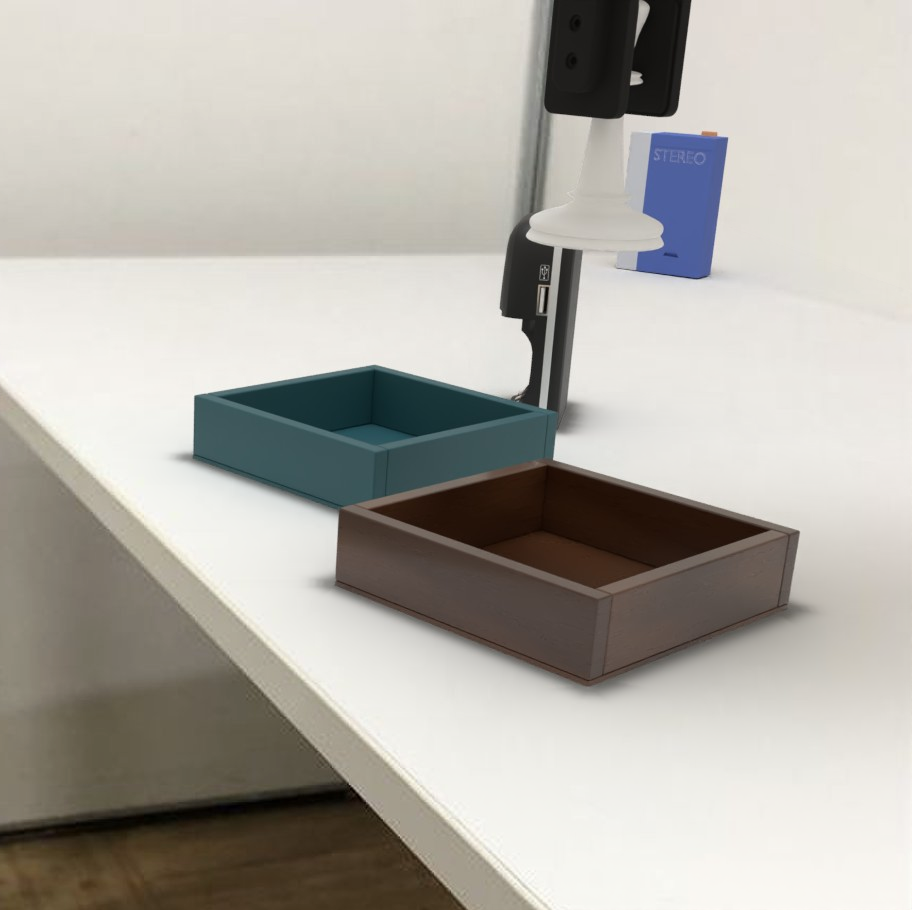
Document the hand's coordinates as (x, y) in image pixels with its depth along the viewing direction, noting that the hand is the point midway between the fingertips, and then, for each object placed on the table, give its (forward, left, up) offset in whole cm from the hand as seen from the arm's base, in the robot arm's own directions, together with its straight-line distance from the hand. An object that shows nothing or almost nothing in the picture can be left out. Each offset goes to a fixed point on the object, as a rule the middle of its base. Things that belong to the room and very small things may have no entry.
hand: (610, 110), depth 57 cm
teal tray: (-7, -17, -19) cm, 26 cm away
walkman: (-74, -48, -19) cm, 90 cm away
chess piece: (0, 0, -5) cm, 5 cm away
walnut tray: (0, 0, -19) cm, 19 cm away
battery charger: (-22, -20, -19) cm, 35 cm away
